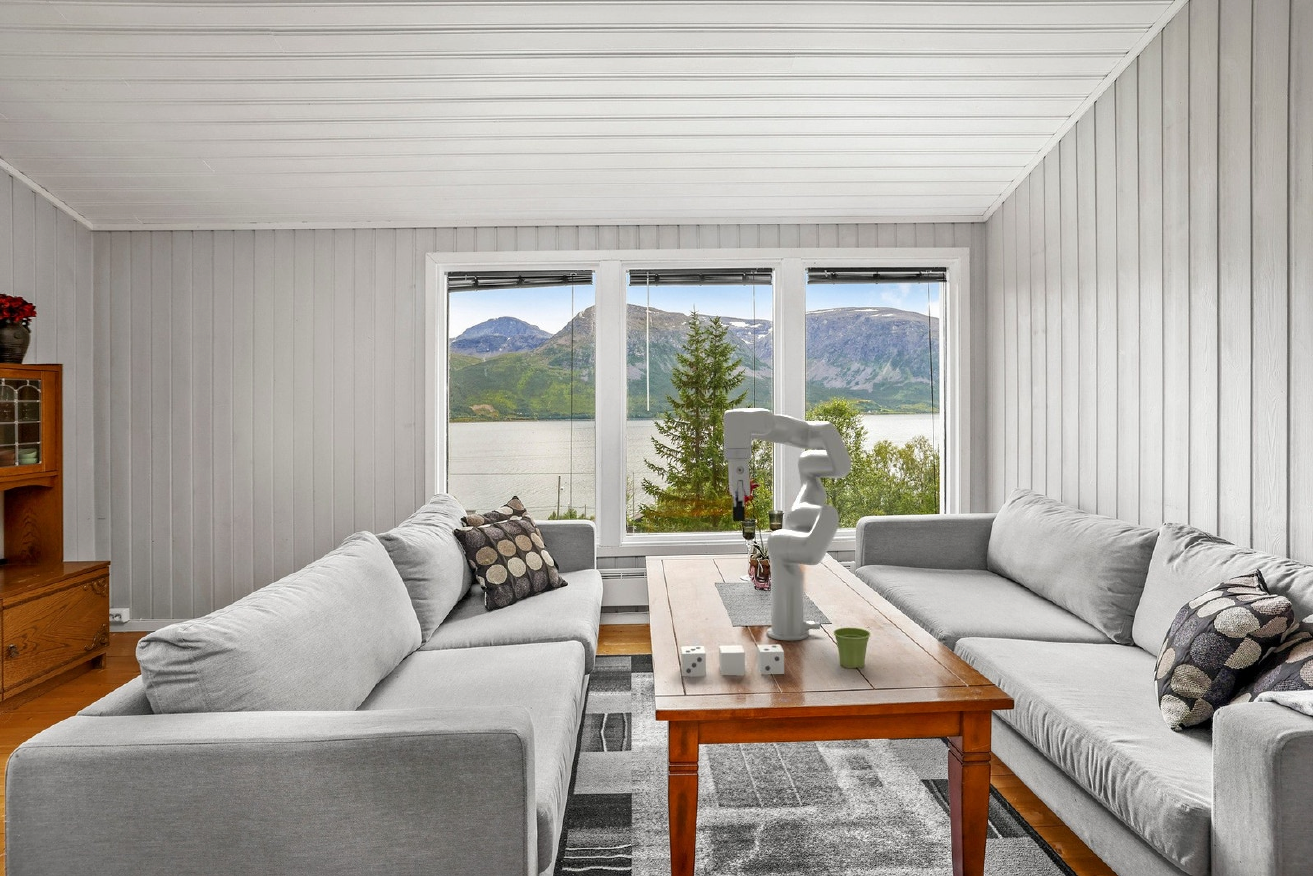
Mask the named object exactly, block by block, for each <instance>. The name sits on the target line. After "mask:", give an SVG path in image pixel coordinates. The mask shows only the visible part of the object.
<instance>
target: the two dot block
mask: <svg viewBox="0 0 1313 876" xmlns="http://www.w3.org/2000/svg"><path fill="white" fill-rule="evenodd" d="M756 649H757V650H756V656H757V657H756V659H757V660H756V661H757V663H756V664H757V665H756V666H757V667H758V668H757V667H756V668H757V669H759V670H758V671H759V675H761V674H784V675H785V651H784V650H783V647H782V646H781V644H756Z"/></svg>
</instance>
